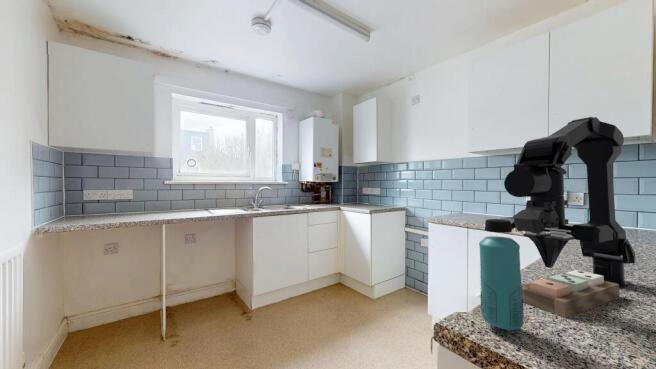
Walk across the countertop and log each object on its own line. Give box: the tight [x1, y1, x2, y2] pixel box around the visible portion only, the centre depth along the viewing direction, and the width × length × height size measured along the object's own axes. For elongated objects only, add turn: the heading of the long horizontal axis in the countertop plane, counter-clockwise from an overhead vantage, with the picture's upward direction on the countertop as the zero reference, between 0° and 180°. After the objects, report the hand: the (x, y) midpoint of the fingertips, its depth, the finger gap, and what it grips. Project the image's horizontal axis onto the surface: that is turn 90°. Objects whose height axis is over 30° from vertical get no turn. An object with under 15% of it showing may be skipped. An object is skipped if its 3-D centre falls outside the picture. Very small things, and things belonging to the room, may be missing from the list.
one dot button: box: [529, 278, 570, 298], centre depth 57 cm, size 5×5×3 cm
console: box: [521, 274, 620, 319], centre depth 60 cm, size 22×9×3 cm, turn 113°
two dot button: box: [565, 269, 604, 287], centre depth 63 cm, size 5×5×3 cm
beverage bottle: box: [478, 218, 525, 331], centre depth 48 cm, size 6×7×20 cm
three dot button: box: [547, 273, 588, 292], centre depth 60 cm, size 5×5×3 cm
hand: (549, 267), depth 57 cm, fingers closed
